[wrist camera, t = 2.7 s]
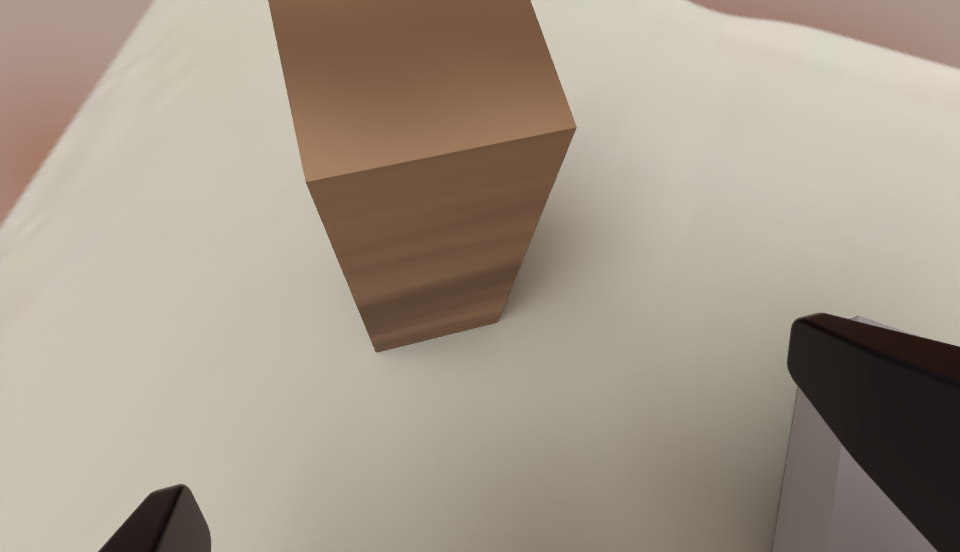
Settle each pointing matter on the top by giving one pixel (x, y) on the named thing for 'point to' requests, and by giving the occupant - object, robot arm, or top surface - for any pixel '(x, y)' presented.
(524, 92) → the walnut block
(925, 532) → the robot arm
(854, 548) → the plinth
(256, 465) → the top surface
